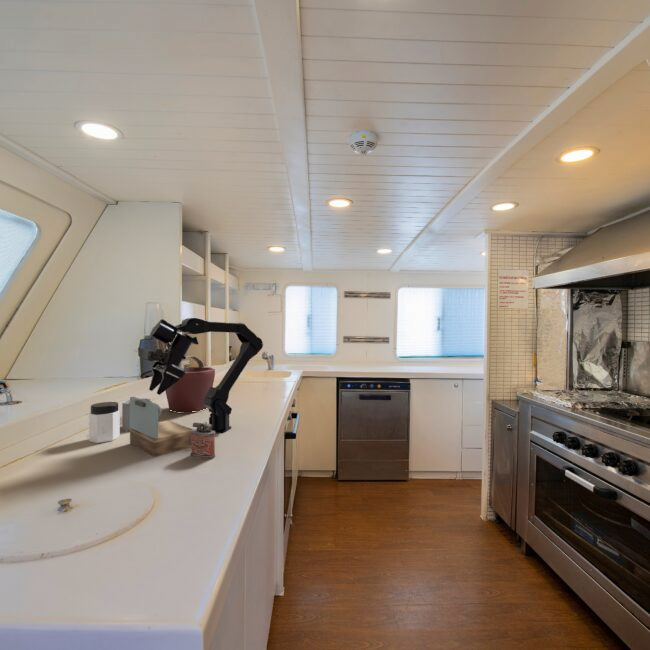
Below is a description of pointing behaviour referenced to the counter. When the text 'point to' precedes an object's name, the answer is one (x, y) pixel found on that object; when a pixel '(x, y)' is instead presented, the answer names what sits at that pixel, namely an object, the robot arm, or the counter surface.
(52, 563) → the counter surface
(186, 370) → the bucket
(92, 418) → the jar
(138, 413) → the grey flat slab
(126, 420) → the grey mug
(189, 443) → the cart bed
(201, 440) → the lighter
